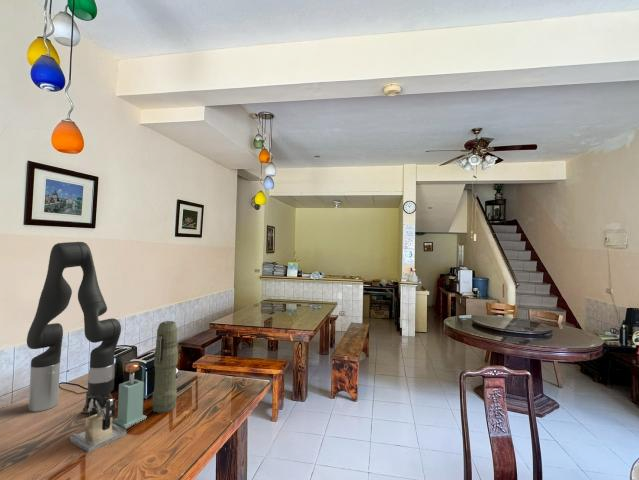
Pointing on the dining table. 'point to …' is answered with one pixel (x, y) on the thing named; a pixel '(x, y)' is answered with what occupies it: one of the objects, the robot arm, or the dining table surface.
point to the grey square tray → (94, 444)
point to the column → (130, 404)
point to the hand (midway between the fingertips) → (99, 425)
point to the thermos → (165, 368)
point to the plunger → (132, 371)
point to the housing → (96, 427)
